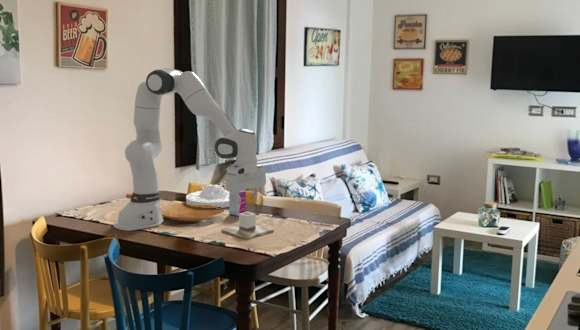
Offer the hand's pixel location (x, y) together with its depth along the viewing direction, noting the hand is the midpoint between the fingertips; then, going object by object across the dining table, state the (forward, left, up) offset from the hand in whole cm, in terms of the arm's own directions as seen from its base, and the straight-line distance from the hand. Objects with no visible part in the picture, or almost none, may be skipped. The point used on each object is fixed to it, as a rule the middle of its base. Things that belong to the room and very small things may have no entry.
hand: (246, 198), depth 270 cm
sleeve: (0, 0, -14) cm, 14 cm away
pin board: (0, 0, -15) cm, 15 cm away
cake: (+23, +52, -15) cm, 59 cm away
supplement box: (+15, +24, -15) cm, 32 cm away
